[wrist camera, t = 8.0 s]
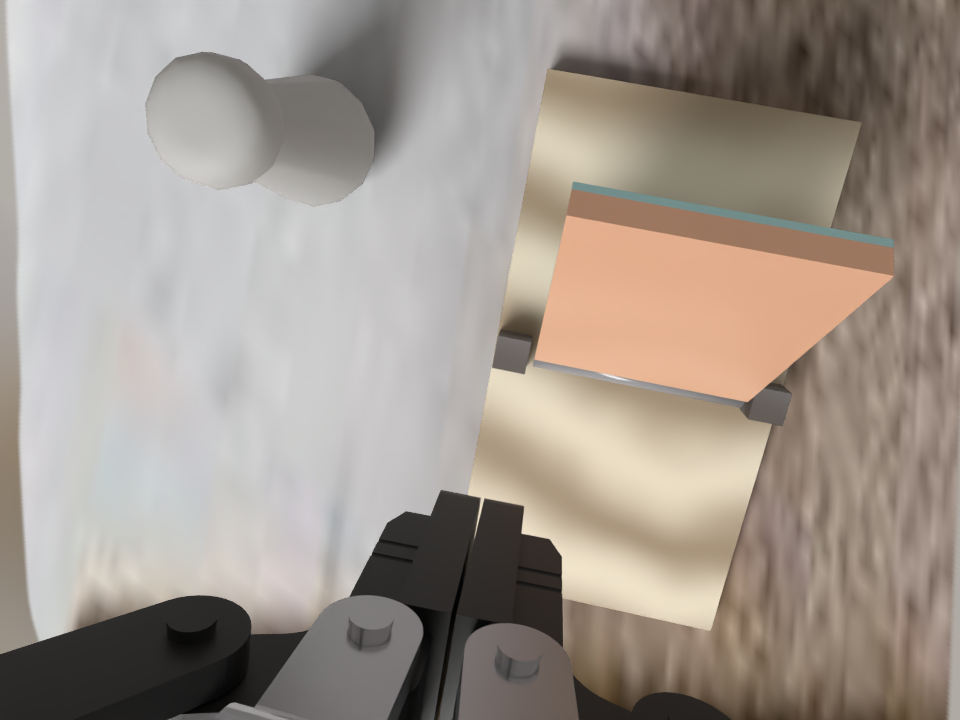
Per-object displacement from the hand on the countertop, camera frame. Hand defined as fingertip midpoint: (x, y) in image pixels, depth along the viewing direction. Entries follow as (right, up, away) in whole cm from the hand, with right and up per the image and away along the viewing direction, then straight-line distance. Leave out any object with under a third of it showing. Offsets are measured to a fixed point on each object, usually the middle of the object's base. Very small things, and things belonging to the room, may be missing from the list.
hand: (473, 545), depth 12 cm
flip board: (+8, +3, +23) cm, 25 cm away
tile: (+8, +4, +15) cm, 18 cm away
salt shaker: (-7, +14, +23) cm, 27 cm away
